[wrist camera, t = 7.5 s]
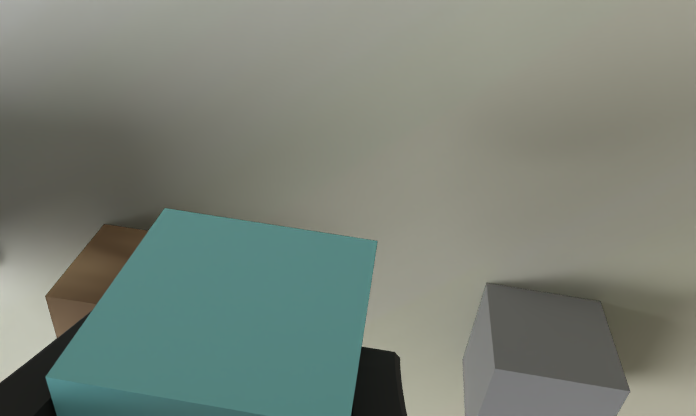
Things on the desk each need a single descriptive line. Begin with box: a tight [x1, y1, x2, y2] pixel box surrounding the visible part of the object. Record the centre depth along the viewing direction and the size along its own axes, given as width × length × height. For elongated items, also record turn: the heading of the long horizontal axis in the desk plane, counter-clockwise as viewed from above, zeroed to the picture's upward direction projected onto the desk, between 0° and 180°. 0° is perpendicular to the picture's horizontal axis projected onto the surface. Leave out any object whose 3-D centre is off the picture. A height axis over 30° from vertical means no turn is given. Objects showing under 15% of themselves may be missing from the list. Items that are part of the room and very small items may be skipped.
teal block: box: [46, 208, 377, 416], centre depth 10 cm, size 4×4×4 cm
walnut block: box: [45, 224, 148, 338], centre depth 21 cm, size 4×4×4 cm
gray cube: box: [463, 283, 630, 416], centre depth 20 cm, size 4×4×4 cm
